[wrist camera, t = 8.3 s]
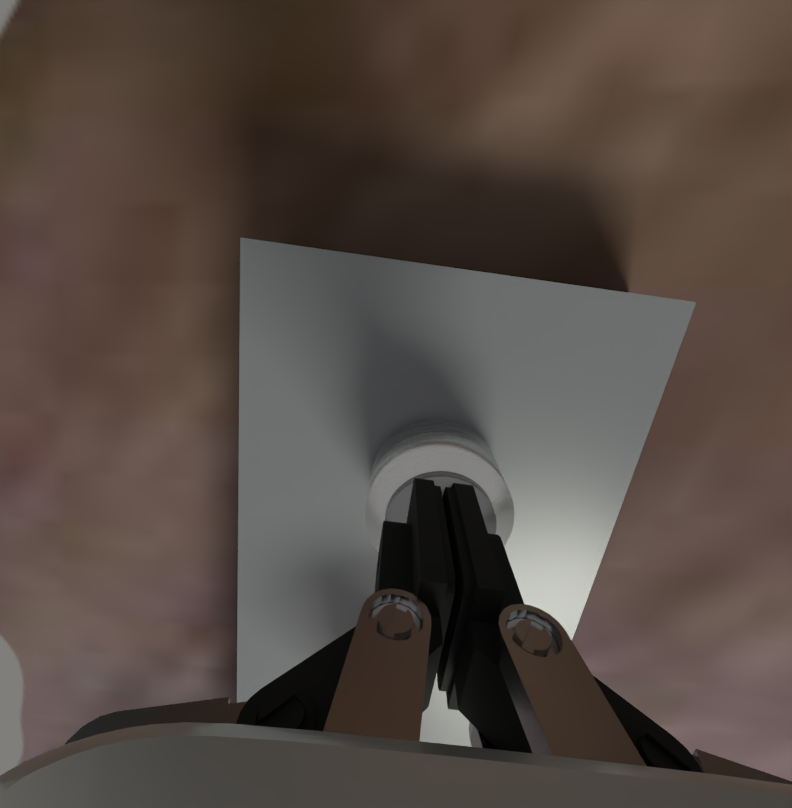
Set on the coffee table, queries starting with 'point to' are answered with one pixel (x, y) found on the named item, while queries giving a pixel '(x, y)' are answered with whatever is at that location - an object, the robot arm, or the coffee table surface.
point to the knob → (436, 475)
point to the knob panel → (420, 401)
